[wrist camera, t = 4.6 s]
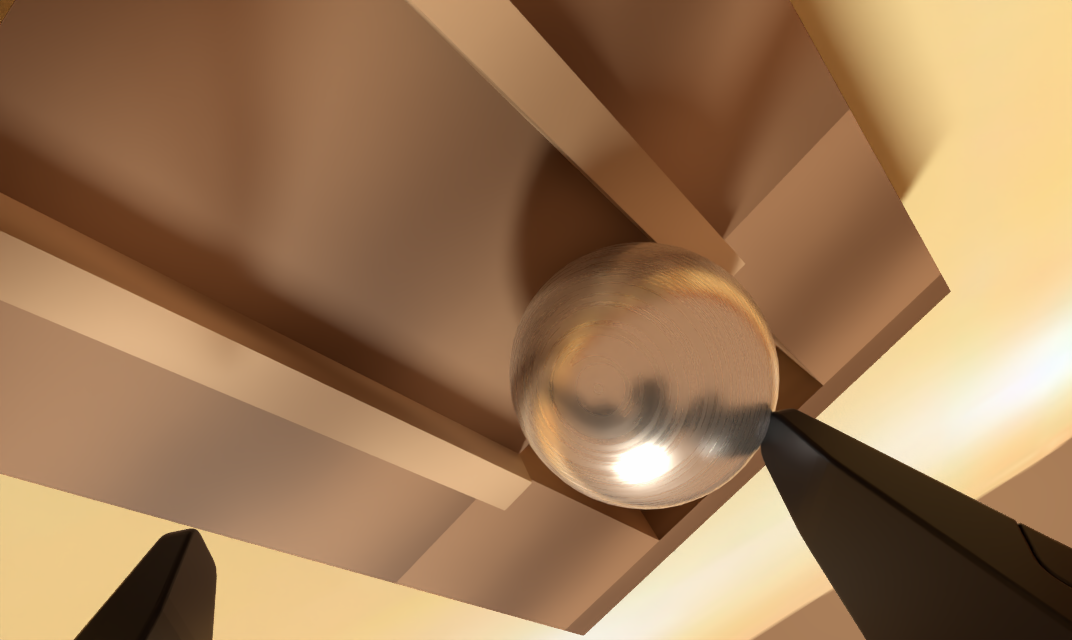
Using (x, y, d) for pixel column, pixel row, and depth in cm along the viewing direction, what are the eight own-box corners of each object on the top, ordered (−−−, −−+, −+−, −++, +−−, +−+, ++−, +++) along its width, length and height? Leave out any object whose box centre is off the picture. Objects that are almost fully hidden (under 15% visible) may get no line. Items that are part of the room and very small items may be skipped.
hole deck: (-131, 311, 12) (-289, 451, 8) (387, -493, 9) (445, -747, 6) (552, 563, 23) (595, 663, 20) (871, 250, 20) (982, 307, 17)
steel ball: (683, 617, 9) (726, 512, 13) (834, 300, 8) (825, 304, 12) (421, 453, 11) (537, 410, 15) (519, 183, 10) (612, 223, 14)
